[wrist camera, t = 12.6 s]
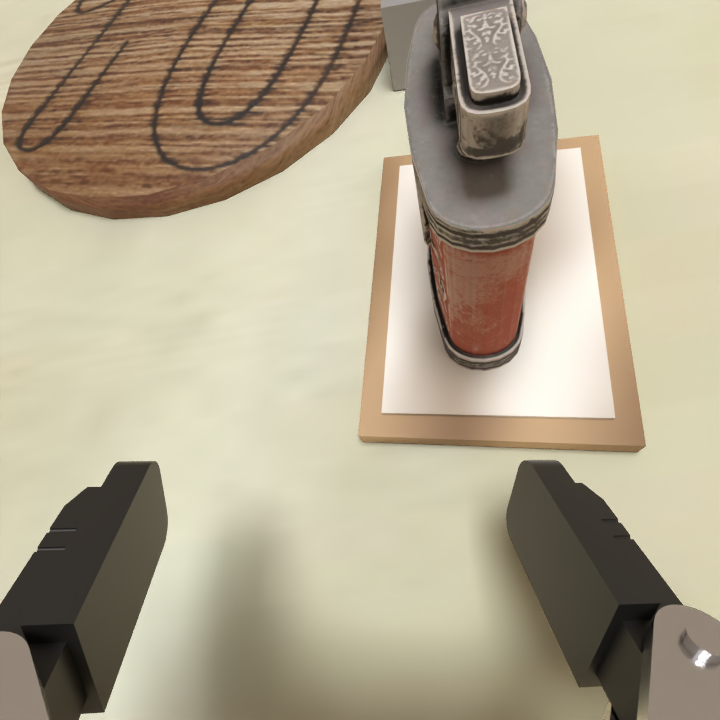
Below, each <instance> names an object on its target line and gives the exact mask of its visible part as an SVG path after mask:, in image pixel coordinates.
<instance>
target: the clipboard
mask: <svg viewBox="0 0 720 720" xmlns="http://www.w3.org/2000/svg"><path fill="white" fill-rule="evenodd" d="M427 254H428V245H427V244H426V243H425V242H424V236H423V230H422V223H421V217H420V210H419V203H418V197H417V190H416V183H415V176H414V169H413V163H412V156H411V155H406V156H396V157H387V158H384V163H383V174H382V185H381V196H380V206H379V217H378V228H377V239H376V250H375V260H374V271H373V282H372V293H371V304H370V314H369V325H368V336H367V347H366V358H365V369H364V379H363V390H362V401H361V412H360V423H359V433H358V436H359V438H360V439H361V440H362V441H363V442H386V443H412V444H439V445H465V446H492V447H519V448H545V449H572V450H599V451H625V452H638V451H640V450H641V449H642V448H644V447H645V446H646V444H645V437H644V430H643V424H642V417H641V411H640V404H639V398H638V391H637V385H636V378H635V371H634V365H633V358H632V352H631V345H630V339H629V332H628V325H627V319H626V312H625V306H624V299H623V293H622V286H621V279H620V273H619V266H618V260H617V253H616V247H615V240H614V233H613V227H612V220H611V214H610V207H609V201H608V194H607V187H606V181H605V174H604V168H603V161H602V155H601V148H600V142H599V135H594V136H585V137H575V138H566V139H557V159H556V180H555V188H554V193H553V198H552V202H551V207H550V211H549V214H548V217H547V220H546V223H545V225H544V226H543V227H542V228H541V229H540V230H539V231H538V232H537V233H536V234H535V240H534V245H533V250H532V255H531V261H530V266H529V271H528V276H527V282H526V300H525V314H524V329H523V336H522V340H521V344H520V347H519V351H518V353H517V355H516V356H515V357H514V358H513V359H512V360H511V361H510V362H509V363H507V364H505V365H503V366H502V367H500V368H497V369H492V370H488V371H476V370H470V369H467V368H464V367H461V366H459V365H458V364H456V363H455V362H454V361H453V360H451V359H450V357H449V356H448V354H447V352H446V350H445V347H444V344H443V341H442V337H441V334H440V331H439V327H438V324H437V321H436V317H435V314H434V307H433V300H432V294H431V287H430V280H429V274H428V267H427Z"/></svg>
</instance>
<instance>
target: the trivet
mask: <svg viewBox="0 0 720 720" xmlns="http://www.w3.org/2000/svg"><path fill="white" fill-rule="evenodd" d="M387 57H388V52H387V45H386V39H385V33H384V27H383V21H382V15H381V0H75V1H74V2H73V3H72V4H70V5H69V6H68V7H67V8H66V9H65V10H64V11H62V12H61V13H60V14H59V15H58V16H57V17H56V18H55V19H54V21H53V22H52V23H51V24H50V25H49V26H48V27H47V29H46V30H45V31H44V32H43V33H42V34H41V36H40V37H39V38H38V39H37V40H36V41H35V42H34V44H33V45H32V46H31V47H30V49H29V51H28V52H27V54H26V56H25V58H24V59H23V61H22V63H21V64H20V66H19V68H18V69H17V71H16V73H15V74H14V76H13V78H12V80H11V83H10V86H9V90H8V93H7V97H6V100H5V103H4V107H3V110H2V125H3V141H4V145H5V147H6V149H7V150H8V152H9V154H10V156H11V157H12V159H13V161H14V163H15V164H16V166H17V168H18V170H19V171H20V172H21V173H22V174H24V175H25V176H26V177H27V178H28V179H29V180H30V181H32V182H33V183H34V184H35V185H36V186H37V187H38V188H39V189H41V190H42V191H43V192H45V193H46V194H48V195H49V196H51V197H52V198H54V199H55V200H57V201H58V202H60V203H62V204H63V205H65V206H66V207H68V208H69V209H71V210H74V211H78V212H83V213H87V214H92V215H97V216H101V217H106V218H110V219H128V218H144V217H161V216H170V215H173V214H177V213H180V212H184V211H187V210H191V209H194V208H198V207H201V206H205V205H209V204H212V203H216V202H219V201H223V200H226V199H228V198H230V197H232V196H234V195H236V194H238V193H240V192H242V191H244V190H246V189H248V188H250V187H252V186H254V185H256V184H258V183H260V182H262V181H264V180H266V179H268V178H270V177H272V176H274V175H276V174H278V173H280V172H282V171H284V170H285V169H287V168H288V167H289V166H291V165H292V164H293V163H295V162H296V161H297V160H299V159H300V158H301V157H303V156H304V155H305V154H307V153H308V152H309V151H311V150H312V149H313V148H315V147H316V146H317V145H319V144H320V143H321V142H323V141H324V140H325V139H326V138H328V137H329V136H330V135H332V134H333V133H334V132H335V131H336V130H337V129H338V127H339V126H340V125H341V124H342V123H343V122H344V121H345V119H346V118H347V117H348V116H349V115H350V114H351V113H352V112H353V110H354V109H355V108H356V107H357V106H358V105H359V104H360V102H361V101H362V100H363V99H364V98H365V97H366V96H367V95H368V93H369V92H370V91H371V89H372V87H373V85H374V83H375V81H376V79H377V77H378V75H379V73H380V71H381V69H382V67H383V65H384V63H385V61H386V59H387Z"/></svg>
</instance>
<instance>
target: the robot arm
mask: <svg viewBox="0 0 720 720" xmlns="http://www.w3.org/2000/svg"><path fill="white" fill-rule="evenodd" d="M506 521H507V529H508V533H509V536H510V539H511V541H512V543H513V545H514V548H515V550H516V552H517V554H518V556H519V558H520V561H521V563H522V565H523V567H524V569H525V571H526V574H527V576H528V578H529V580H530V582H531V584H532V586H533V589H534V591H535V593H536V595H537V597H538V599H539V602H540V604H541V606H542V608H543V610H544V612H545V615H546V617H547V619H548V621H549V623H550V625H551V628H552V630H553V632H554V634H555V636H556V638H557V640H558V643H559V645H560V647H561V649H562V651H563V653H564V656H565V658H566V660H567V662H568V664H569V666H570V669H571V671H572V673H573V675H574V677H575V679H576V681H577V684H578V686H579V687H594V686H602V687H603V689H604V691H605V693H606V695H607V697H608V699H609V701H608V703H607V705H606V708H605V712H604V719H603V720H720V622H719V621H718V620H716V619H715V618H713V617H711V616H710V615H708V614H706V613H704V612H702V611H700V610H697V609H695V608H692V607H688V606H684V605H683V604H682V603H681V602H680V601H679V599H678V598H677V597H676V595H675V594H674V593H673V591H672V590H671V589H670V587H669V586H668V585H667V583H666V582H665V581H664V579H663V578H662V577H661V575H660V574H659V573H658V571H657V570H656V569H655V567H654V566H653V565H652V563H651V562H650V561H649V559H648V558H647V557H646V555H645V554H644V553H643V552H642V550H641V549H640V548H639V546H638V545H637V544H636V542H635V541H634V540H633V539H630V534H629V533H628V532H627V530H626V529H625V528H624V526H623V525H622V524H621V523H618V518H617V517H616V516H615V514H614V513H613V512H612V510H611V509H610V508H609V507H608V505H607V504H606V503H605V501H604V500H603V499H602V498H601V497H599V496H598V495H597V494H595V493H594V492H593V491H592V490H590V489H589V488H588V487H586V486H585V485H584V484H583V483H575V482H574V481H573V479H572V478H571V477H570V475H569V474H568V472H567V471H566V470H565V468H564V467H563V465H562V464H561V463H560V462H558V461H556V460H528V461H523V462H521V464H520V466H519V468H518V472H517V475H516V479H515V483H514V486H513V490H512V494H511V497H510V501H509V505H508V508H507V515H506ZM167 526H168V516H167V509H166V503H165V497H164V491H163V485H162V480H161V474H160V468H159V465H158V463H157V462H155V461H130V462H117V463H116V464H115V465H114V466H113V468H112V469H111V471H110V473H109V475H108V476H107V478H106V480H105V481H104V483H103V485H102V486H101V487H87V488H86V489H85V490H83V491H82V492H81V493H80V494H78V495H77V496H76V497H75V498H74V499H72V500H71V501H70V502H69V503H68V504H66V505H65V506H64V507H63V509H62V511H61V512H60V514H59V515H58V517H57V518H56V520H55V521H54V523H53V524H52V526H51V527H50V532H49V533H47V534H46V535H45V537H44V538H43V540H42V541H41V543H40V544H39V546H38V550H37V552H34V553H33V555H32V557H31V558H30V560H29V561H28V563H27V564H26V566H25V567H24V569H23V570H22V572H21V573H20V575H19V577H18V578H17V580H16V581H15V583H14V584H13V586H12V587H11V589H10V590H9V592H8V593H7V595H6V596H5V598H4V600H3V601H2V603H1V604H0V720H79V717H80V715H81V714H84V713H102V712H105V709H106V706H107V703H108V700H109V698H110V695H111V692H112V689H113V686H114V684H115V681H116V678H117V675H118V672H119V670H120V667H121V664H122V661H123V658H124V656H125V653H126V650H127V647H128V644H129V642H130V639H131V636H132V633H133V630H134V628H135V625H136V622H137V619H138V616H139V614H140V611H141V608H142V605H143V603H144V600H145V597H146V594H147V591H148V589H149V586H150V583H151V580H152V577H153V575H154V572H155V569H156V566H157V563H158V561H159V558H160V555H161V552H162V549H163V547H164V543H165V540H166V534H167Z"/></svg>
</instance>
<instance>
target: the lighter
mask: <svg viewBox="0 0 720 720" xmlns="http://www.w3.org/2000/svg"><path fill="white" fill-rule="evenodd" d="M526 18H527V4H526V1H525V0H436V4H434V5H432V6H430V7H429V8H428V9H427V10H426V11H425V12H424V13H422V14H421V15H420V17H419V19H418V21H417V23H416V24H415V29H414V33H413V37H412V42H411V46H410V51H409V55H408V59H407V65H406V84H405V102H404V109H405V116H406V123H407V130H408V136H409V143H410V150H411V156H412V163H413V169H414V176H415V183H416V190H417V197H418V203H419V210H420V217H421V223H422V230H423V236H424V242H425V243H426V244H427V245H428V254H427V267H428V274H429V280H430V287H431V294H432V300H433V307H434V314H435V317H436V321H437V324H438V327H439V331H440V334H441V337H442V341H443V344H444V347H445V350H446V352H447V354H448V356H449V357H450V359H451V360H453V361H454V362H455V363H456V364H458V365H459V366H461V367H464V368H467V369H470V370H476V371H488V370H492V369H497V368H500V367H502V366H503V365H505V364H507V363H509V362H510V361H511V360H512V359H513V358H514V357H515V356H516V355H517V353H518V351H519V347H520V344H521V340H522V336H523V329H524V314H525V300H526V282H527V276H528V271H529V266H530V261H531V255H532V250H533V245H534V240H535V234H536V233H537V232H538V231H539V230H540V229H541V228H542V227H543V226H544V225H545V223H546V220H547V217H548V214H549V211H550V207H551V202H552V198H553V193H554V188H555V180H556V159H557V139H558V127H557V119H556V111H555V103H554V95H553V87H552V80H551V77H550V74H549V71H548V68H547V66H546V63H545V60H544V57H543V55H542V52H541V49H540V46H539V44H538V41H537V38H536V36H535V34H534V32H533V31H532V29H531V27H530V26H529V24H528V22H527V21H526Z"/></svg>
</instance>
